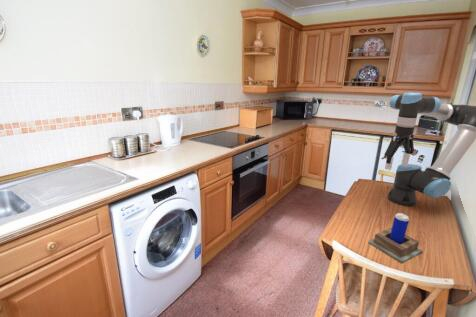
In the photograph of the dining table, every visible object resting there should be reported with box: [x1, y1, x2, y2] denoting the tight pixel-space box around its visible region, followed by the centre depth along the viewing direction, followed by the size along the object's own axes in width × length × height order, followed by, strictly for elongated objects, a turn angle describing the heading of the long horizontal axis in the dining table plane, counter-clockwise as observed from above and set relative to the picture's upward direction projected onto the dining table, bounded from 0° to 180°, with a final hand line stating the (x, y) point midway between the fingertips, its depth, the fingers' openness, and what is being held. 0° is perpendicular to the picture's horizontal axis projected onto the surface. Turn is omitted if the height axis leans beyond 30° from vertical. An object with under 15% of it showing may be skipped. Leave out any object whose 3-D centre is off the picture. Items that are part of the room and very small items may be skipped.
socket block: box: [368, 227, 424, 264], centre depth 110 cm, size 15×15×5 cm
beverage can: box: [389, 212, 410, 244], centre depth 108 cm, size 5×5×15 cm
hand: (396, 167), depth 126 cm, fingers open, 13 cm apart
